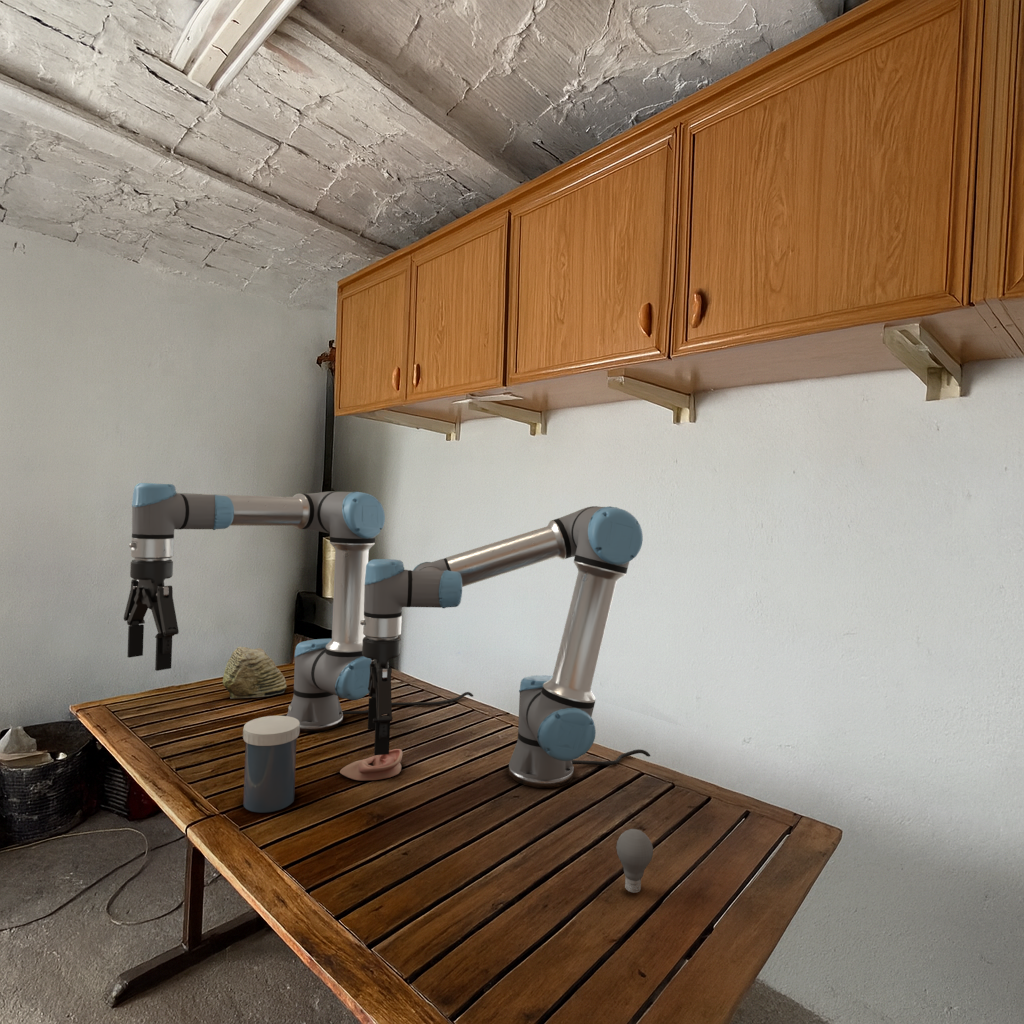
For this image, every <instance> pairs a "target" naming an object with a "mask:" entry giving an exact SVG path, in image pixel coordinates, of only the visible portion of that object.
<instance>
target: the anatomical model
mask: <svg viewBox="0 0 1024 1024" xmlns="http://www.w3.org/2000/svg"><path fill="white" fill-rule="evenodd" d="M403 754H404V753H403V750H402V749H401V748H395V749H389V754H385V755H372V756H370V757H367V758H364V759H359V760H356V761H353V762H351V763H349V764H347V765H345V766H344V767H342V768H341V769H340V770H339V773H340V774H341V775H342V776H344V777H346V778H348V779H351V780H353V781H362V782H363V781H364V782H366V781H378V780H384V779H389V778H391V777H394V776H397V775H399V774H400V772H401V771H402V763H401V761H402V759H403Z"/></svg>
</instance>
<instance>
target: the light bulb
mask: <svg viewBox="0 0 1024 1024" xmlns="http://www.w3.org/2000/svg"><path fill="white" fill-rule="evenodd" d="M615 849H616V854H617V857H618V859H619V861H620V863H621V865H622V867H623V873H624V874H623V875H624V876H625V878H624V888H625V890H627V891H628V892H630V893H634V894H635V893H639V892H640V891H641V889H642V887H641V886H642V879H643V877H644V875H645V871H646V868H647V867H648V866H649V864H650V863H651V861H652V859H653V855H654V847H653V843H652V841H651V838H649V836H648V835H647V834H646V833H645V832H643V831H642V830H641V829H636V828H629V829H627V830H625V831H623V832H622V833H621V834H620V835H619V837H618V839H617V841H616V847H615Z"/></svg>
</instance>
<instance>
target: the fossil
mask: <svg viewBox="0 0 1024 1024" xmlns="http://www.w3.org/2000/svg"><path fill="white" fill-rule="evenodd" d="M222 676H223V677H222V685H223V687H224V688H225V690H226V691H228V693H229V698H230V699H250V698H264V697H271V696H275V695H281V694H284V693H285V691H286V689H287V687H288V686H287V680H286V678H285V676H284V674H283V673H282V672H281V669H279V668H278V667H277V665H276V663H275V662H274V660H273V659H272V658H271V657H270V656H269V655H268V654H267V653H266V652H265V650H264V649H263V648H260V647H258V648H251V647H247V646H246V647H245V646H238V647H237V648H236V649H235V650H233V651H232V653H231V656H230V657H229V659H228V660H227V663H226V666H225V668H224V671H223V675H222Z"/></svg>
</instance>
